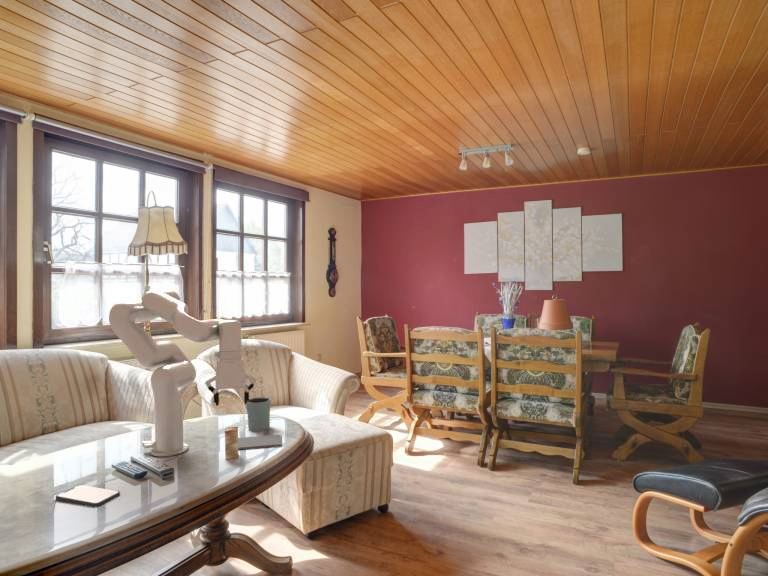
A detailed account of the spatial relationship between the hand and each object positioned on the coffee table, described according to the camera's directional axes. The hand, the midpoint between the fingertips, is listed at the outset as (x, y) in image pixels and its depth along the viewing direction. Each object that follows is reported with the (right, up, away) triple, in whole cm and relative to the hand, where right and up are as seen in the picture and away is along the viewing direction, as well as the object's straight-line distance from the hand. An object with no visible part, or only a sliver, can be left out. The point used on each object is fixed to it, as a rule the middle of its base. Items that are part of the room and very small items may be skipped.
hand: (231, 403), depth 175 cm
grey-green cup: (+1, -19, +35) cm, 39 cm away
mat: (+4, -19, +15) cm, 24 cm away
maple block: (0, -19, +1) cm, 19 cm away
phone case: (-32, -21, -31) cm, 49 cm away
